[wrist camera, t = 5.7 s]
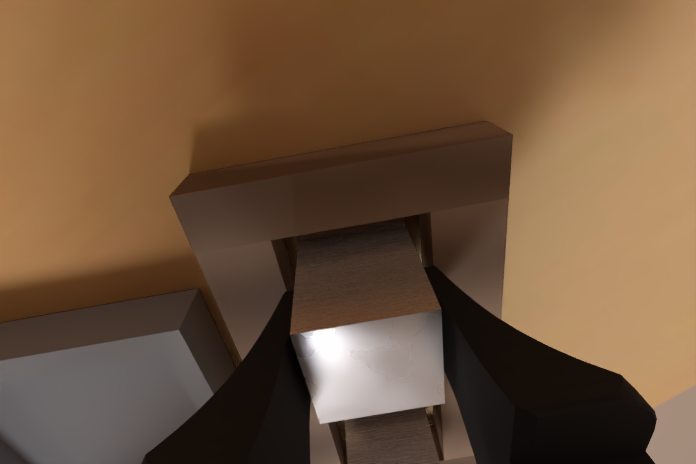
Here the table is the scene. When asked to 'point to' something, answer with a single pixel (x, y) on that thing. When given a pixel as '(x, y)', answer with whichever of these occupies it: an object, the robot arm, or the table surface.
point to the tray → (106, 379)
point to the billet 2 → (391, 439)
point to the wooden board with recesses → (349, 210)
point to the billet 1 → (366, 322)
